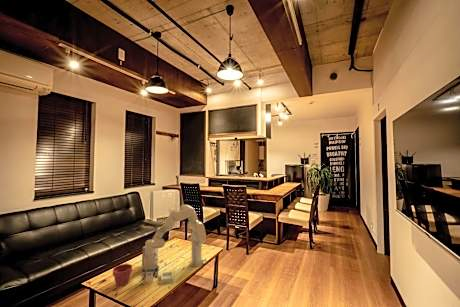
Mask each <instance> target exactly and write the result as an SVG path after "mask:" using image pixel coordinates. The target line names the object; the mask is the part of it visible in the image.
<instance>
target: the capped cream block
mask: <svg viewBox="0 0 460 307" xmlns="http://www.w3.org/2000/svg"><path fill="white" fill-rule="evenodd" d="M153 272H154V271H153V269H151V270H147V271H146V278H145V283H153V282H154V279H155V277H154V278H153Z"/></svg>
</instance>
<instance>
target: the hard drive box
mask: <svg viewBox="0 0 460 307" xmlns="http://www.w3.org/2000/svg"><path fill="white" fill-rule="evenodd" d="M155 253H157V255H156V261H157V264H158V263H159V248H156V249H155ZM141 257H142V258H141V261H142V262H141V267H142V266H143V265H144V258H145V245H144V246H143V247H142V256H141Z"/></svg>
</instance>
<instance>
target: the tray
mask: <svg viewBox="0 0 460 307" xmlns="http://www.w3.org/2000/svg"><path fill="white" fill-rule="evenodd" d="M173 282H174V271H163V272H161V275H160V284H168V283H173Z"/></svg>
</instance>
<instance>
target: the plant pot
mask: <svg viewBox="0 0 460 307" xmlns="http://www.w3.org/2000/svg"><path fill="white" fill-rule="evenodd" d="M132 272H133V265H132V264H130V263H124V264H123V263H122V264H119V265H116V266H115V267H113V269H112V276H113V277H114V280H115V286H116V287H118V288H121V287H125V286H127V285H128V284H129V282H130V278H131V273H132Z"/></svg>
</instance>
